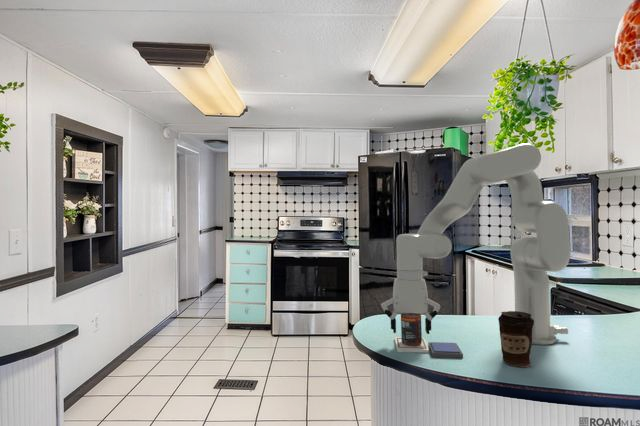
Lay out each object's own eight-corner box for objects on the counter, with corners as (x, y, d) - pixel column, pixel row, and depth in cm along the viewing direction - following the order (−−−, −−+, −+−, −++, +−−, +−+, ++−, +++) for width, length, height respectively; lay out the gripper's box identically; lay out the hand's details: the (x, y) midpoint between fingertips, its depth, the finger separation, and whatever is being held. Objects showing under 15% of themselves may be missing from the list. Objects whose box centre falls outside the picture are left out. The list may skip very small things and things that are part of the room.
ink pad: (456, 347, 107) (456, 342, 107) (463, 358, 99) (462, 352, 99) (428, 346, 108) (428, 341, 108) (432, 357, 100) (432, 351, 100)
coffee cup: (534, 373, 90) (533, 320, 90) (497, 365, 94) (496, 315, 94) (535, 360, 97) (534, 311, 97) (500, 354, 101) (500, 307, 101)
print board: (424, 340, 113) (424, 337, 113) (429, 352, 104) (429, 349, 104) (394, 339, 115) (394, 336, 115) (396, 351, 105) (396, 348, 105)
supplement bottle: (420, 339, 112) (419, 303, 112) (423, 347, 106) (422, 308, 106) (400, 339, 112) (399, 303, 112) (402, 346, 106) (401, 308, 106)
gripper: (437, 273, 112) (438, 328, 112) (380, 272, 114) (381, 327, 114) (442, 277, 104) (443, 337, 104) (380, 277, 107) (382, 335, 107)
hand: (410, 332), depth 109 cm, fingers open, 9 cm apart
